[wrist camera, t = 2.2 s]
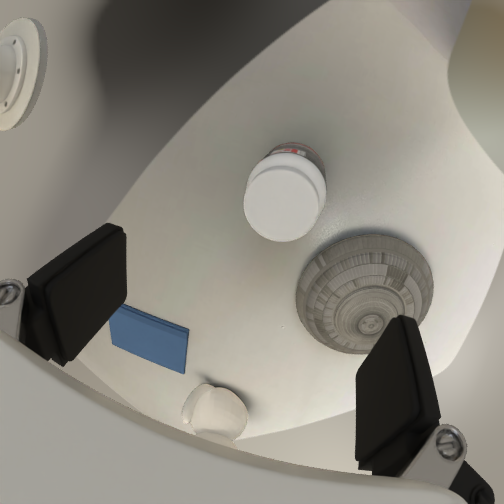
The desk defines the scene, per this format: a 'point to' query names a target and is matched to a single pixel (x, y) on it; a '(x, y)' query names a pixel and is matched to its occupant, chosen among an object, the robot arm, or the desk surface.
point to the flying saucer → (362, 291)
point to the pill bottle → (285, 192)
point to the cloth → (149, 337)
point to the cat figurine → (215, 414)
